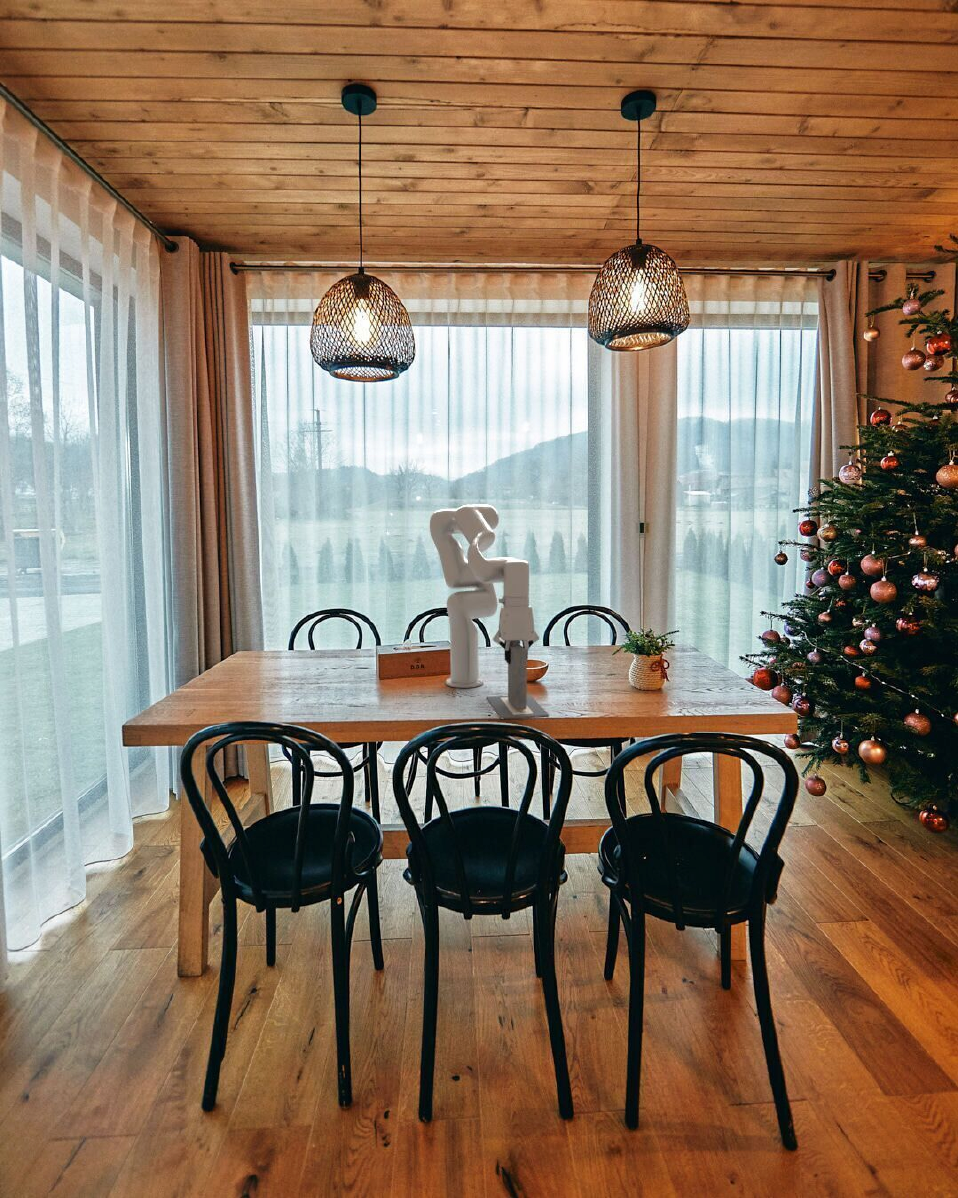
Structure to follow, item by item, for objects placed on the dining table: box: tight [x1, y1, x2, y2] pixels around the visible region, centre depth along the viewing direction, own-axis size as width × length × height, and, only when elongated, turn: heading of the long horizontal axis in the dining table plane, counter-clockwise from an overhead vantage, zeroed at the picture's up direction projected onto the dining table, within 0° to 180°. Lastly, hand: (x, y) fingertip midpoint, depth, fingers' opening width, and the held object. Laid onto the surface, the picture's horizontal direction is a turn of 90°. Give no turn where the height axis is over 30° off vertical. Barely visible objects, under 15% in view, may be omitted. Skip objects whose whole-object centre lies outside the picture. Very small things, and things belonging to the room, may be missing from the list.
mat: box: [486, 694, 550, 720], centre depth 207 cm, size 22×14×1 cm, turn 10°
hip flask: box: [507, 641, 528, 710], centre depth 206 cm, size 16×4×20 cm, turn 7°
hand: (516, 662), depth 206 cm, fingers closed on hip flask, 4 cm apart
